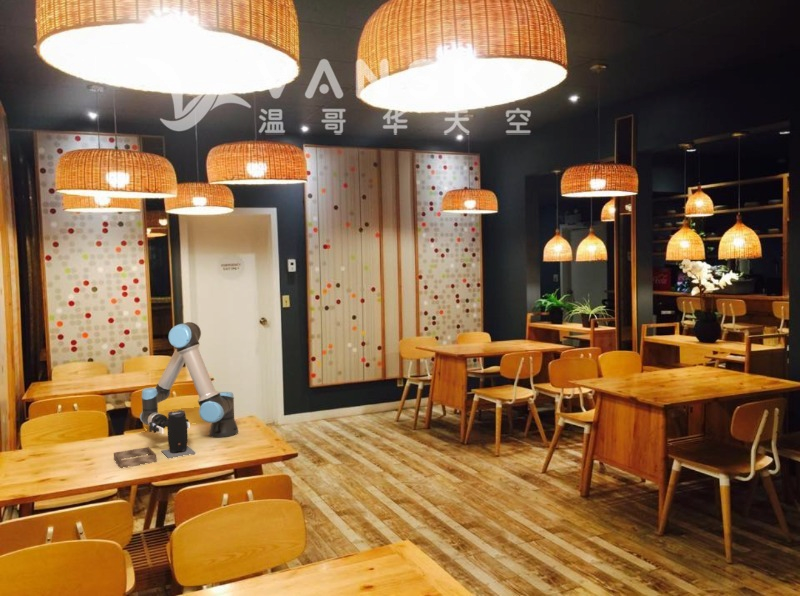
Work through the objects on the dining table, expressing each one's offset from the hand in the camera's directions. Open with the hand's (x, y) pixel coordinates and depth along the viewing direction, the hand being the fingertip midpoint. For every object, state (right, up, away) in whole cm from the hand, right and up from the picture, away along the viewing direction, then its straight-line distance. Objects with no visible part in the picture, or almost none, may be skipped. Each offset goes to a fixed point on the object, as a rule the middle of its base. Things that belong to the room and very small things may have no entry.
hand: (176, 428), depth 316 cm
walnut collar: (-16, -13, -11) cm, 23 cm away
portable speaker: (+1, -12, 0) cm, 12 cm away
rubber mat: (+1, -12, 0) cm, 12 cm away
